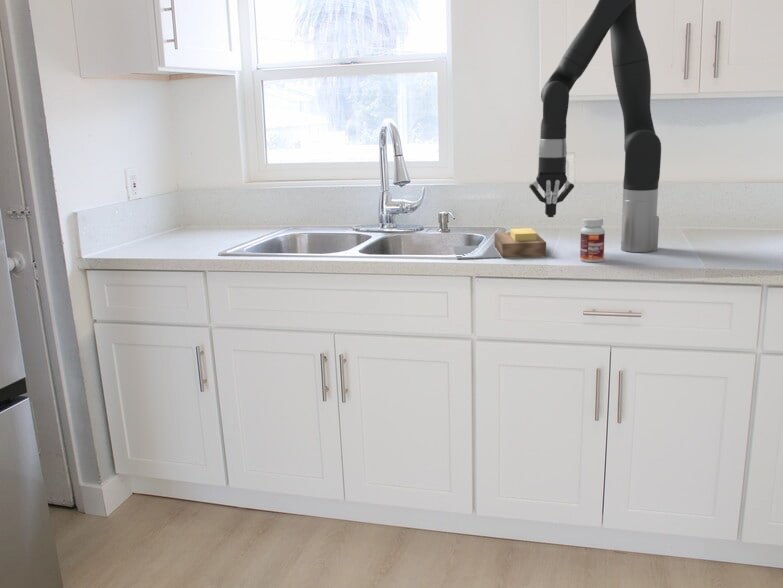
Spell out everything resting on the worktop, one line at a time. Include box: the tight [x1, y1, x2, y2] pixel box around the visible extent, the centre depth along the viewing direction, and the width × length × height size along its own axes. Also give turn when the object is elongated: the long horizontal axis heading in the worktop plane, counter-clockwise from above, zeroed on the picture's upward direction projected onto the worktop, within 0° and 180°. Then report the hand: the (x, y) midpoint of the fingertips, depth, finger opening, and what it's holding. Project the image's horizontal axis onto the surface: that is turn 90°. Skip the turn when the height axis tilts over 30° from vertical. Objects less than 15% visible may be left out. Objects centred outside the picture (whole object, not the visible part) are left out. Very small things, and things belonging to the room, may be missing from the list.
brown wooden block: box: [494, 231, 547, 259], centre depth 216 cm, size 12×18×4 cm, turn 179°
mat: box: [452, 244, 502, 260], centre depth 217 cm, size 12×18×1 cm, turn 179°
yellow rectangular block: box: [510, 227, 538, 241], centre depth 214 cm, size 6×9×2 cm, turn 179°
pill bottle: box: [579, 216, 606, 263], centre depth 199 cm, size 6×6×11 cm
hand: (550, 216), depth 213 cm, fingers closed
